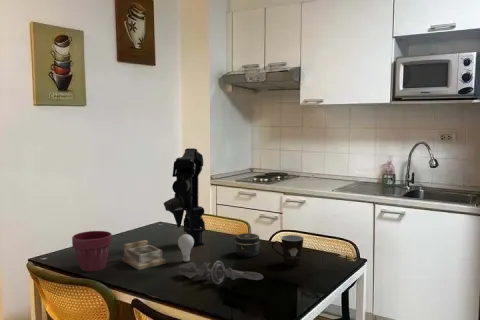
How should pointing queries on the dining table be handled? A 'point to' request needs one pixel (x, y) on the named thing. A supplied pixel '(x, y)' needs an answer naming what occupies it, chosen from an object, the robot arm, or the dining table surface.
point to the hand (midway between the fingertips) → (185, 229)
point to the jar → (247, 245)
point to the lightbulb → (186, 246)
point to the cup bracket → (142, 255)
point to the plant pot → (92, 249)
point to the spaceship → (216, 272)
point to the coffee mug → (291, 249)
